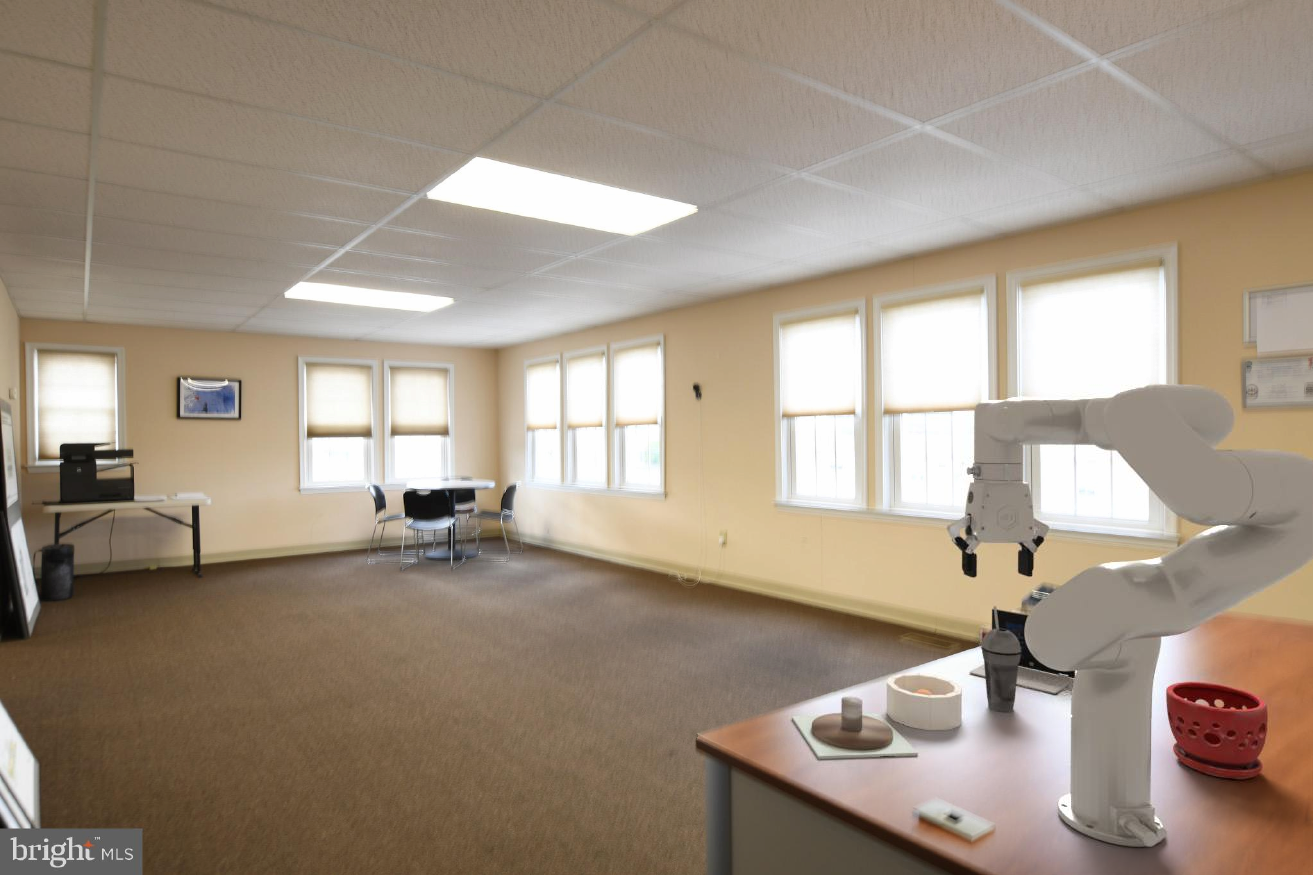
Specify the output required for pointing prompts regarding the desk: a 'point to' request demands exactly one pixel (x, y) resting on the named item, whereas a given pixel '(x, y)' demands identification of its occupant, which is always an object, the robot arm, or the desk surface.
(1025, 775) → the desk surface
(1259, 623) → the desk surface
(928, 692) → the ball
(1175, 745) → the plant pot
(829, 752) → the mat
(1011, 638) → the beverage cup
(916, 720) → the bowl
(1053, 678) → the laptop
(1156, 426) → the robot arm
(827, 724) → the lid
